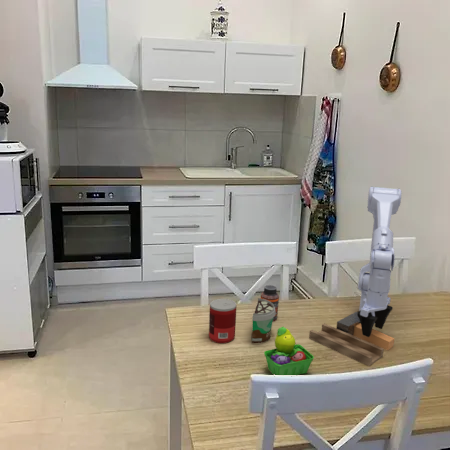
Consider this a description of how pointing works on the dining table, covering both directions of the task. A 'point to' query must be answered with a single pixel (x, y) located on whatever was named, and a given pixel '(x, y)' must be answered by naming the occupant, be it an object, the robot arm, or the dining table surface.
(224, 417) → the dining table surface
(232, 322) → the canned food
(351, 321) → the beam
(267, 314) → the food container
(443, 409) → the dining table surface
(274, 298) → the supplement bottle
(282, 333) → the fruit basket
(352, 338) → the tray
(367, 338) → the shaft
